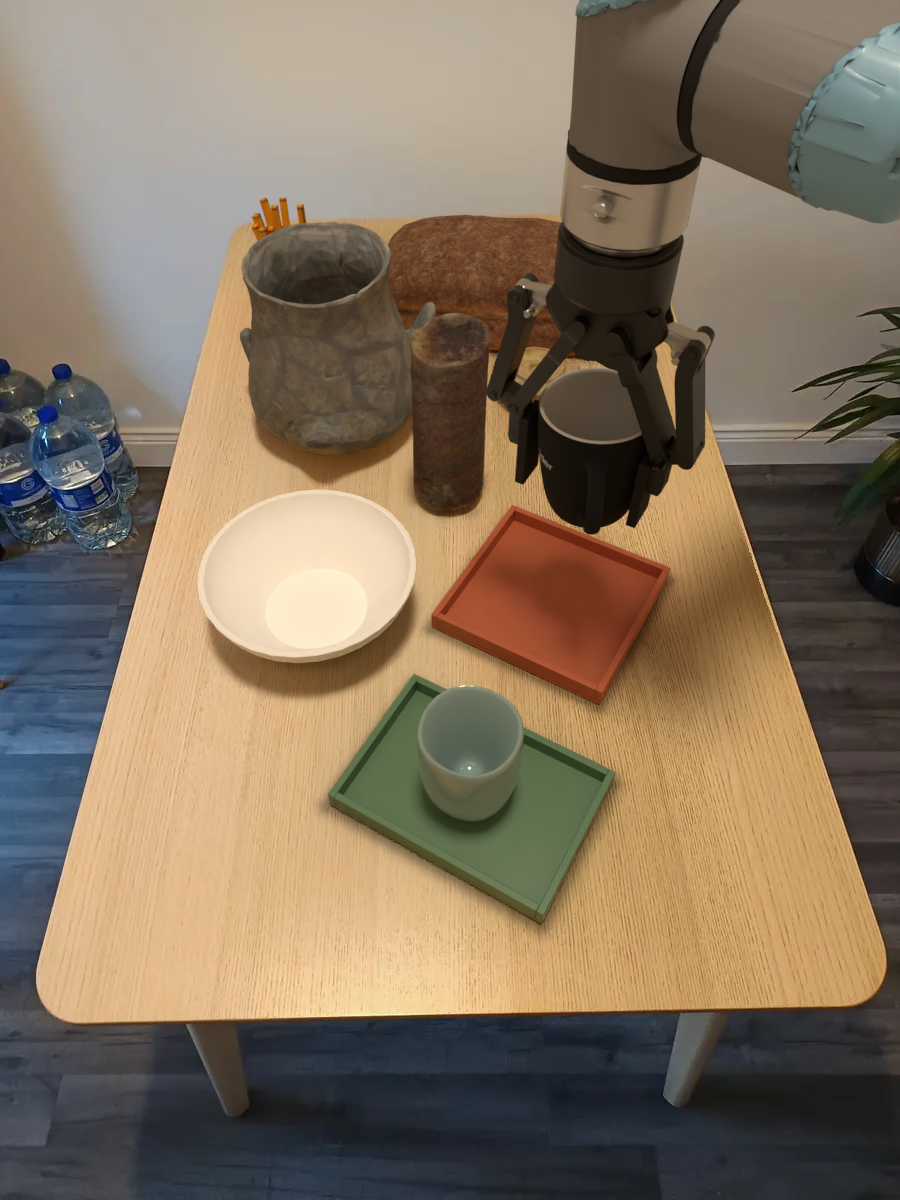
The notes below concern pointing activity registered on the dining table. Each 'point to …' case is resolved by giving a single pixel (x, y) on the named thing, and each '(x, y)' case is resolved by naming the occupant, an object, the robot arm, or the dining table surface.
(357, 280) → the vessel
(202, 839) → the dining table surface
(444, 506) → the candle
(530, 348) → the oil lamp
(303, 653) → the bowl
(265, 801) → the dining table surface
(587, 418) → the mug
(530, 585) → the terracotta tray
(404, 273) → the bread
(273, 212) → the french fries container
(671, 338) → the robot arm
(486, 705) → the cup
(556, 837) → the green tray
